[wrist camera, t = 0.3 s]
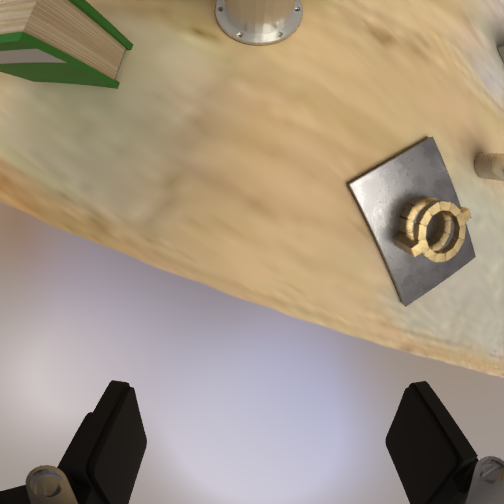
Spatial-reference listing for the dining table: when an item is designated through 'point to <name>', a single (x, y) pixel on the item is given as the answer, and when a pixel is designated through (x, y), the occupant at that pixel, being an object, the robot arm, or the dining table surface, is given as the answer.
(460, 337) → the dining table surface
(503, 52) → the skincare box
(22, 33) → the hardback book
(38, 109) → the dining table surface
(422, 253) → the collar stand
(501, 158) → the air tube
